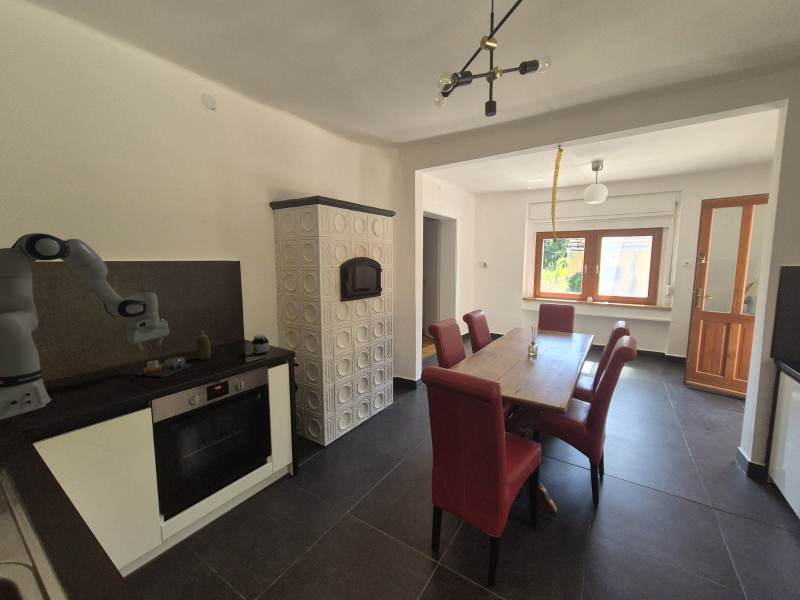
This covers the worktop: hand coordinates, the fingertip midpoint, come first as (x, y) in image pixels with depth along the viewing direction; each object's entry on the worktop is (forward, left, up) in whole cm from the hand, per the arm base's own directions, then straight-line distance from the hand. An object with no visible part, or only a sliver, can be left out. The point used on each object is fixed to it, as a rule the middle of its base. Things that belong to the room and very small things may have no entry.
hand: (150, 347), depth 169 cm
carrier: (+4, -3, -14) cm, 15 cm away
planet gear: (0, 0, -12) cm, 12 cm away
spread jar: (+43, -31, -14) cm, 55 cm away
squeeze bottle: (+27, -6, -14) cm, 31 cm away
